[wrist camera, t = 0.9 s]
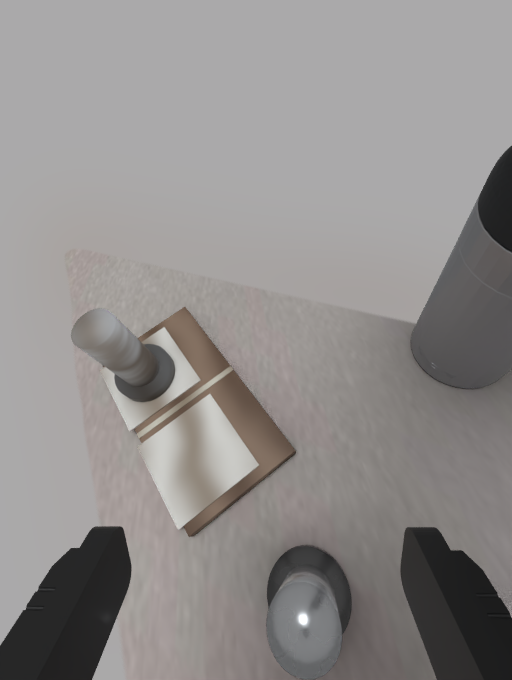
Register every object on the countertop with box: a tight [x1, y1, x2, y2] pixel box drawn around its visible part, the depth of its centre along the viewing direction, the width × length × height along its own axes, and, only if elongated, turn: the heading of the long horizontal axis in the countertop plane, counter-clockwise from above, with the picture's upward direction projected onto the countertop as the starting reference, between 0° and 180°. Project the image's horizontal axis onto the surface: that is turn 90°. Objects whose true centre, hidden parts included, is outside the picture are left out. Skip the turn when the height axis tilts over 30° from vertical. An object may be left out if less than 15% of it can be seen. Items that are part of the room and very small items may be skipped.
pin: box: [266, 545, 351, 680], centre depth 22 cm, size 6×6×10 cm
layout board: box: [71, 307, 296, 537], centre depth 31 cm, size 12×22×12 cm, turn 36°
